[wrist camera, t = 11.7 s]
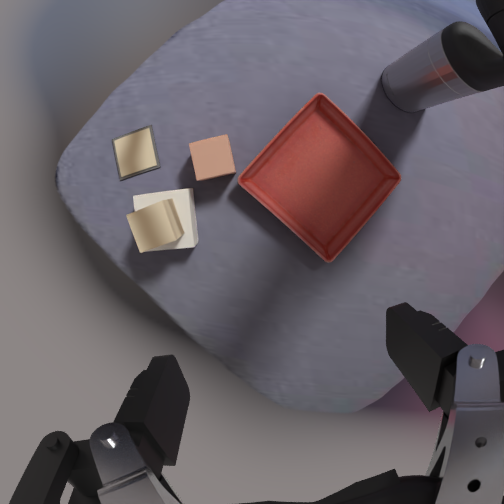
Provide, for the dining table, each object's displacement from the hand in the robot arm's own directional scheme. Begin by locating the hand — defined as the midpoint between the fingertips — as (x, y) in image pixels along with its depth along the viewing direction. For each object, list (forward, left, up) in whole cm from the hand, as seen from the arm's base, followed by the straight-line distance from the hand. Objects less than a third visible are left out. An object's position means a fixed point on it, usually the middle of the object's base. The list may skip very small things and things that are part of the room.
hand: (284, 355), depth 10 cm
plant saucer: (-11, -5, -33) cm, 35 cm away
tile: (+15, -15, -33) cm, 39 cm away
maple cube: (+12, -4, -29) cm, 32 cm away
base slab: (+12, -4, -33) cm, 35 cm away
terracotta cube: (+3, -10, -33) cm, 35 cm away
